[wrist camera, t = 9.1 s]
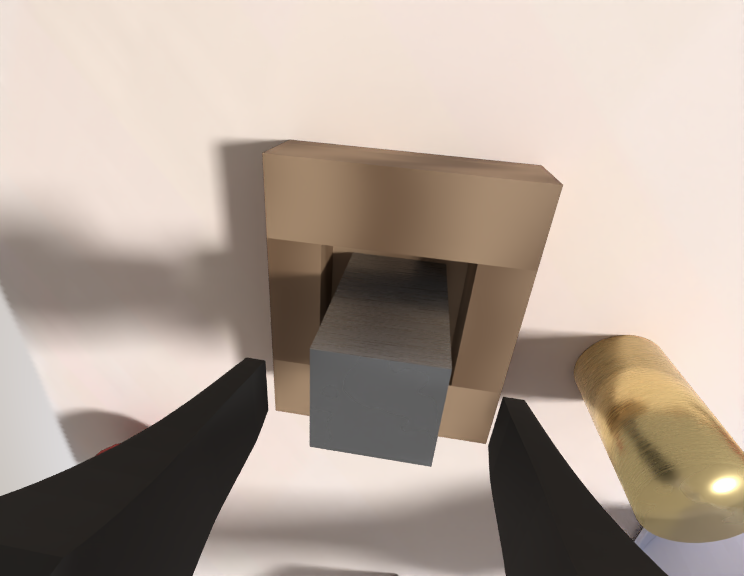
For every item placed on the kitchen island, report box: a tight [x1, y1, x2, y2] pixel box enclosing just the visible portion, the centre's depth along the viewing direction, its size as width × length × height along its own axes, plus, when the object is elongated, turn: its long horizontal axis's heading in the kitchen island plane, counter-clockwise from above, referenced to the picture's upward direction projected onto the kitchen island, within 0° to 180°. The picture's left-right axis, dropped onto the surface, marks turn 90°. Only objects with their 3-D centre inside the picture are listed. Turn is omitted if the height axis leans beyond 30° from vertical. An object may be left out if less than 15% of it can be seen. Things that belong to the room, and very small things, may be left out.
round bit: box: [574, 335, 744, 543], centre depth 17 cm, size 4×4×7 cm
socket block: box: [262, 140, 563, 444], centre depth 18 cm, size 10×12×3 cm
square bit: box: [310, 252, 452, 467], centre depth 15 cm, size 4×4×7 cm
